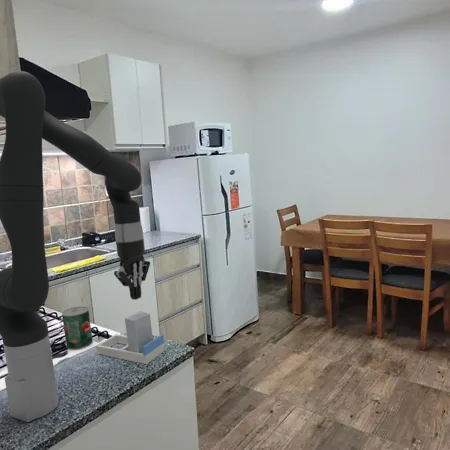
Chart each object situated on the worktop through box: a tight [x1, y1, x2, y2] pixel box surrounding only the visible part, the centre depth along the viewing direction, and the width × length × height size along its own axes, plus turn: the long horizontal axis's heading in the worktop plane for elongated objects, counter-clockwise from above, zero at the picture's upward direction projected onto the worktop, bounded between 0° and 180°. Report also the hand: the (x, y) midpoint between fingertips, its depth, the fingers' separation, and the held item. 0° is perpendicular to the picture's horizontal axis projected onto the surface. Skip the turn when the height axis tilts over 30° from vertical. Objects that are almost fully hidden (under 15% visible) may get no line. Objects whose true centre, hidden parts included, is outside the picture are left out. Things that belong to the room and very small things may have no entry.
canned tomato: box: [61, 305, 94, 351], centre depth 125 cm, size 8×8×11 cm
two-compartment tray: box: [95, 333, 166, 365], centre depth 117 cm, size 9×19×5 cm, turn 62°
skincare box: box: [124, 311, 154, 353], centre depth 114 cm, size 6×4×12 cm
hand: (136, 298), depth 113 cm, fingers closed
